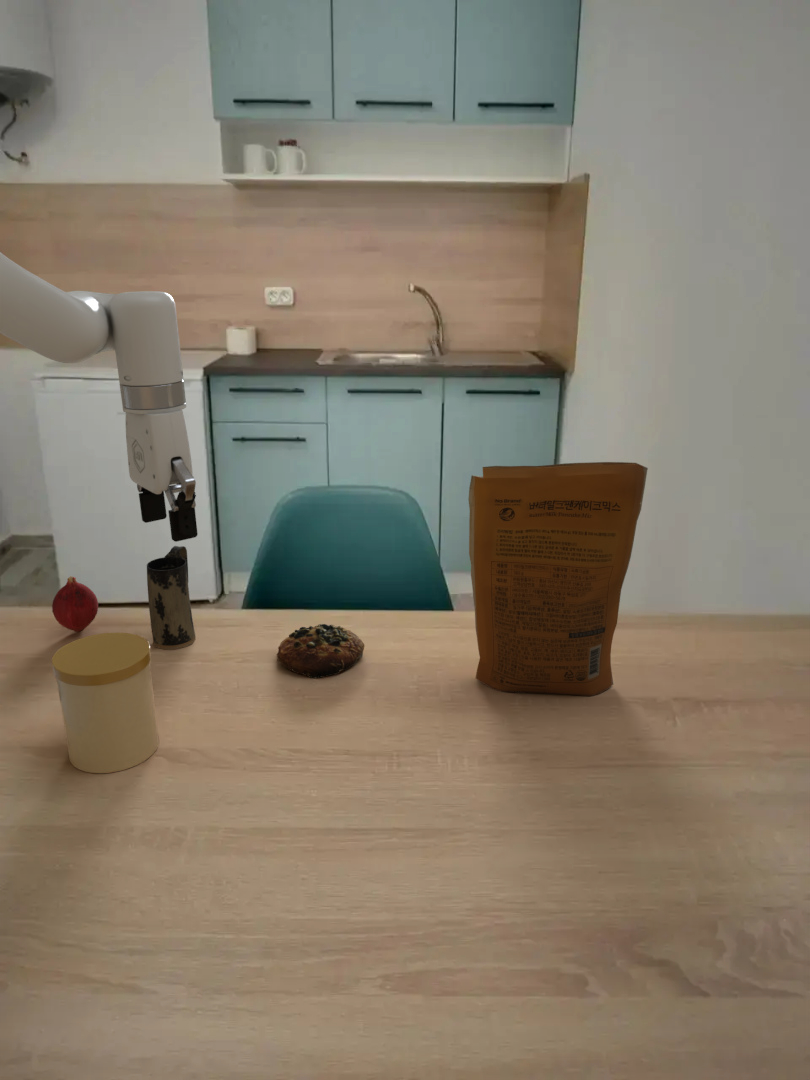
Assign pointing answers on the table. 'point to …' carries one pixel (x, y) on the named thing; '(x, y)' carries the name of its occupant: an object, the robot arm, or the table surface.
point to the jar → (107, 701)
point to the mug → (170, 600)
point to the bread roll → (320, 650)
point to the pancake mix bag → (551, 572)
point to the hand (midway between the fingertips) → (169, 529)
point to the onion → (75, 605)
